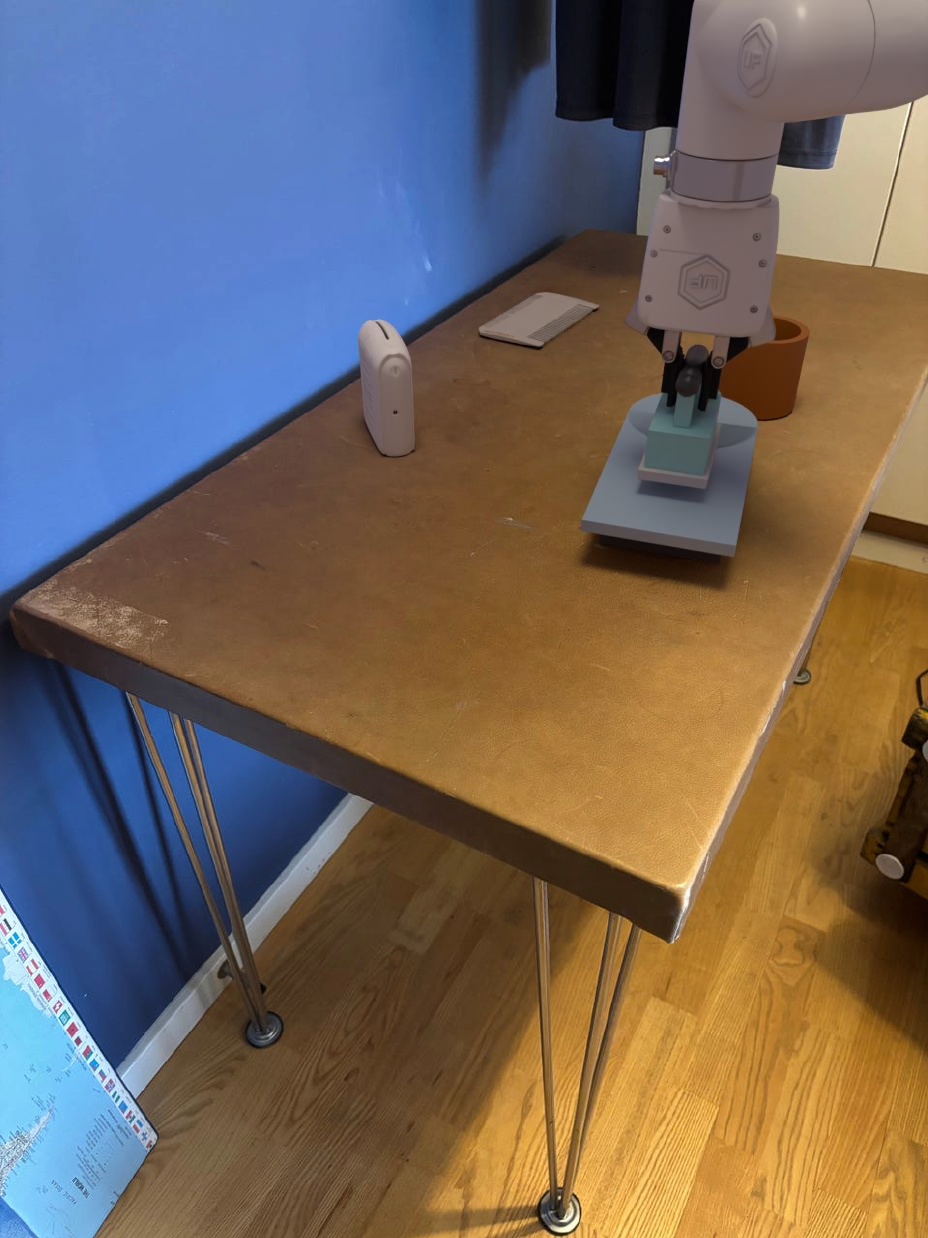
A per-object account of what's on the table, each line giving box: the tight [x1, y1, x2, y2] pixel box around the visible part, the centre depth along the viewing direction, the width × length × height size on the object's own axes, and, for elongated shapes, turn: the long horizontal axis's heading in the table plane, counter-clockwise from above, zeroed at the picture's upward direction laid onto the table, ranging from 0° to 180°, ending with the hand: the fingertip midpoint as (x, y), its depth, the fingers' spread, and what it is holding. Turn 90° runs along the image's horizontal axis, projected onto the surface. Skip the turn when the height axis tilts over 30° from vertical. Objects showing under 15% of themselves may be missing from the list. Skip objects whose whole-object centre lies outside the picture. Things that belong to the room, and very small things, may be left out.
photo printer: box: [357, 318, 416, 457], centre depth 97 cm, size 10×4×12 cm, turn 17°
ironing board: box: [580, 392, 759, 565], centre depth 89 cm, size 13×28×5 cm, turn 161°
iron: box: [637, 344, 722, 489], centre depth 81 cm, size 12×6×9 cm, turn 161°
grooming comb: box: [478, 291, 601, 348], centre depth 127 cm, size 18×10×1 cm, turn 147°
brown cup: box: [718, 314, 811, 420], centre depth 105 cm, size 9×12×9 cm
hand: (688, 401), depth 80 cm, fingers closed on iron
